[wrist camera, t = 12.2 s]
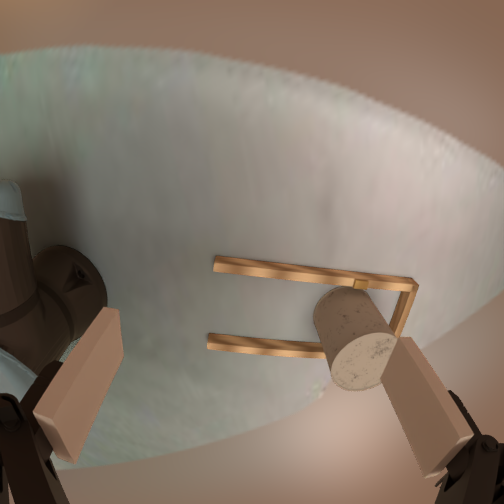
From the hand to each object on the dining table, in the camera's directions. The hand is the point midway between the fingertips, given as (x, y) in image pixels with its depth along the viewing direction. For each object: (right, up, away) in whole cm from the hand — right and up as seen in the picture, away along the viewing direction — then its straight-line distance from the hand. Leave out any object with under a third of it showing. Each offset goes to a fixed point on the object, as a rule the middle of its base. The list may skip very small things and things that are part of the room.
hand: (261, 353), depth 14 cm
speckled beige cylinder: (+14, -5, +33) cm, 36 cm away
